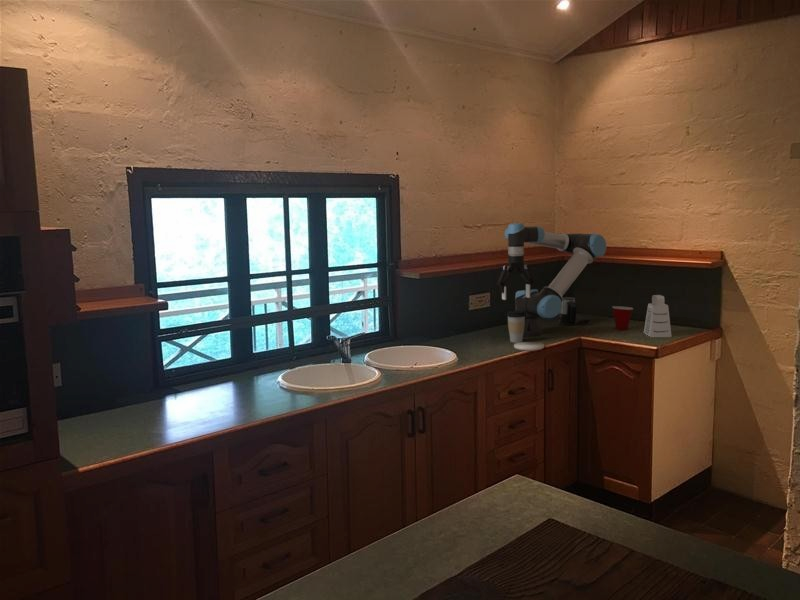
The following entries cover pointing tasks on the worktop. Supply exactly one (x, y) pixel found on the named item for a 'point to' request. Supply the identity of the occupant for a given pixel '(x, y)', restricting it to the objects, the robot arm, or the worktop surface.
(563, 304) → the milk frother
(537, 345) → the saucer
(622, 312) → the plastic cup
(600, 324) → the worktop surface
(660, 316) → the grater
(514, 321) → the coffee cup
